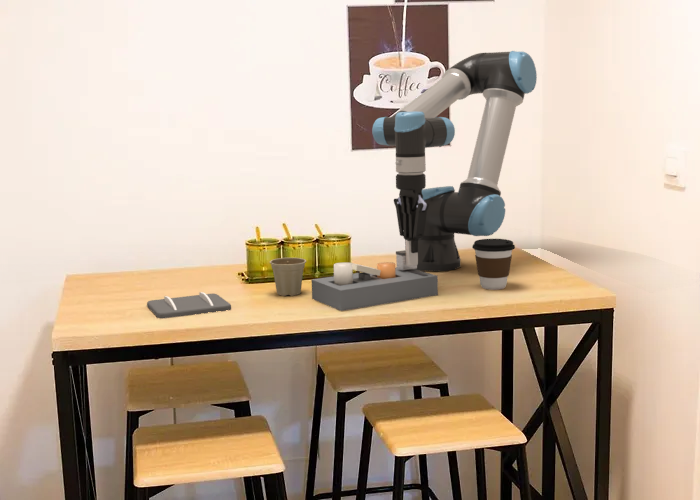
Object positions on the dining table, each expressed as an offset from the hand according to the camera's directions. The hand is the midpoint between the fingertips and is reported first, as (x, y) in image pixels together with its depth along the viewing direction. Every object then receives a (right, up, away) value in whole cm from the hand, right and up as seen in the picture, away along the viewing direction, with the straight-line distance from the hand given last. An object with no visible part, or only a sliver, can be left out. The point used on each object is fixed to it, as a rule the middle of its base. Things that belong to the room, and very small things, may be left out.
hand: (411, 264), depth 237 cm
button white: (-18, -6, -10) cm, 21 cm away
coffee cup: (+21, -6, +3) cm, 23 cm away
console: (-10, -8, -5) cm, 13 cm away
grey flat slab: (-56, -11, -11) cm, 58 cm away
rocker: (-12, -1, -8) cm, 15 cm away
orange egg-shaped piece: (-7, -6, -3) cm, 9 cm away
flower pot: (-32, -8, +2) cm, 33 cm away
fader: (-1, -1, +2) cm, 3 cm away
